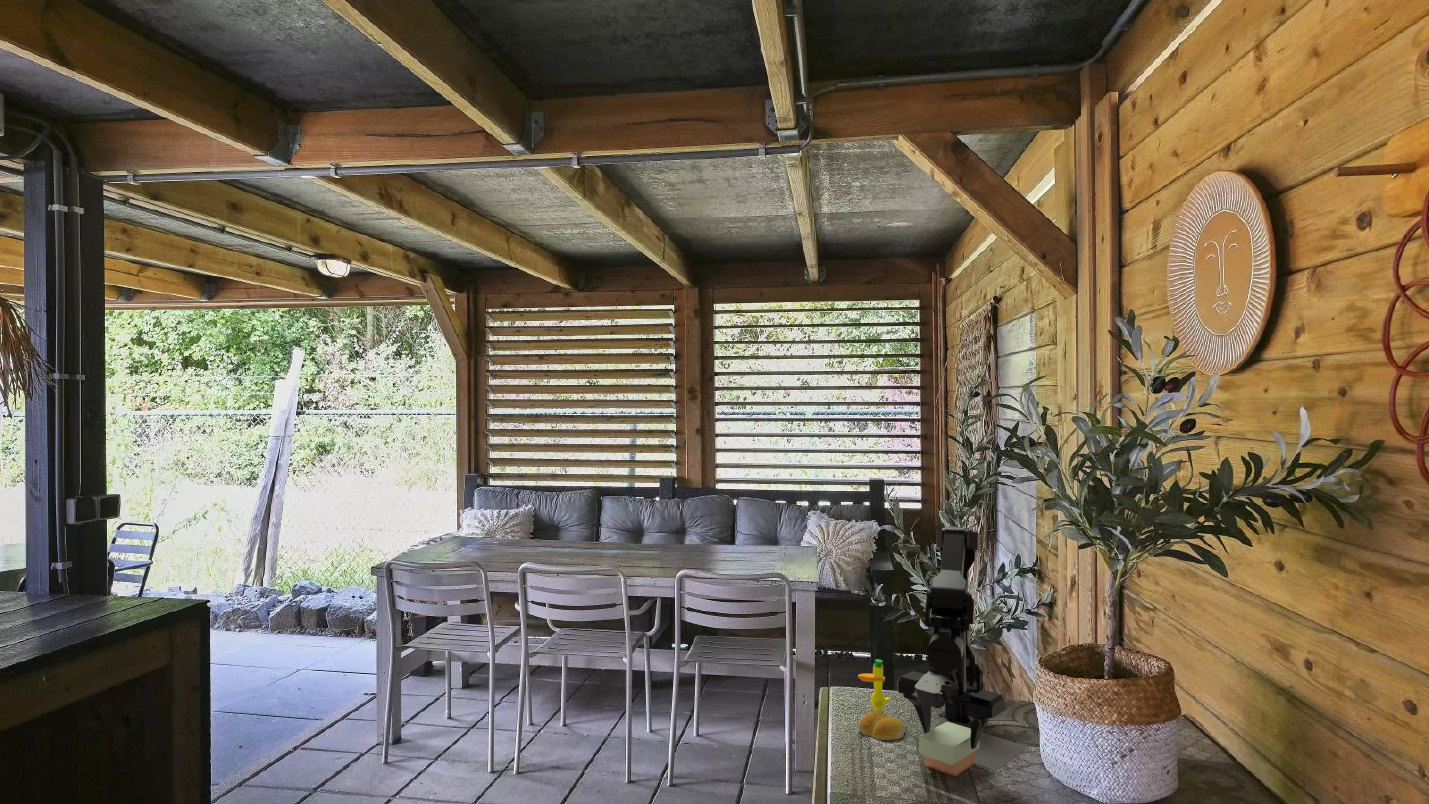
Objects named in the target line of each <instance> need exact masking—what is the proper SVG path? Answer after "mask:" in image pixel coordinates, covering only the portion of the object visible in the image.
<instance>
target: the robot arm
mask: <svg viewBox="0 0 1429 804" xmlns="http://www.w3.org/2000/svg"><path fill="white" fill-rule="evenodd" d="M935 543H936V544H935V549H937V550H939V553H940V555H939V557H940V567H939V569H940V570H939V574H937V575H936V576H934V577H933V578H931V584H930V589H927V590H926V598H925V600H926V602H925V611H924V614H925V615H924V627H928V628H932V635H931V638H930V642H929V643H928V646H927V650H926V658H927V660H928V663H927V664H928V665H927V666H928V669H927V672H926V673H922V672H918V671H913V670H912V671H910V672H908V673H905V674H904V675H900V676H899V677H898V679H897V681H896V690H897V691H896V692H897V693H899V694H902V695H903V698H904V699H907V700H908V701H910V703H911V704H912V705H913V707H914V709H915V711H916V713H917V716H918V718H919V721H920V724H921V725H920V726H921V727H922V730H923V733H924V734H926V733H927V732H929V731H931V723H932V708H934V709H941V708H943V707H944V711H942V712H940V713H939V714H938V717H941V718H944V719H948V720H951V721H954V722H956V723H957V722H958V723H961V724H965V725H967V724H969V723H970V729H971V737H970V743H971V749H975V748H976V746H977V744H978V741H979V739H980V737H981V735H982V733H984V730H985V727H986V726H987V724H988V722H989V720H990V719H993V718H995V717H997V716H999V715H1000V714H1002V713H1003V712H1004V711H1006V700H1005V697H1004V696H1003V695H1002V693H998V692H994V691H991V690H990V691H989V690H986V689H984V671H983V670H982V668H981V667H980V666H981V665H980V663H977V653H976V651H975V649H974V647H973V645H972V644H971V642H970V641H969V638H970V637H969V635H970V634H969V631H970V629H971V625H974V621H975V620H974V618H975V599H974V598H973V595H972V593H971V592H969V571H970V569H971V567H972V566H973V564H974V562H975V560H976V559H977V553H980V534H979V532H976V531H974V529H973V528H972V529H970V528H965V527H953V526H946V527H943V528H942V529H938V530H936V538H935ZM931 615H932V616H931Z"/></svg>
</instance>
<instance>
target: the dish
mask: <svg viewBox="0 0 1429 804" xmlns="http://www.w3.org/2000/svg"><path fill="white" fill-rule="evenodd" d="M974 765H975V764H974V752H972V753H971V754H969V755H968V756H966V757H964V758H963V759H961V760H960V761H958V762H957V763H955V764H954V765H950V764H947V763H944V762H941V761H939V760H936V759H933V758H930V757H927V756H924V766H925V767H927V768H929V769H933V770H936V771H938V772H941V773H944V774H946V775H950V776H953V777H957V776H959V775H960V774H962V773H963V772H965V771H966V770H968V769H969V768H971V767H972V766H974Z"/></svg>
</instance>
